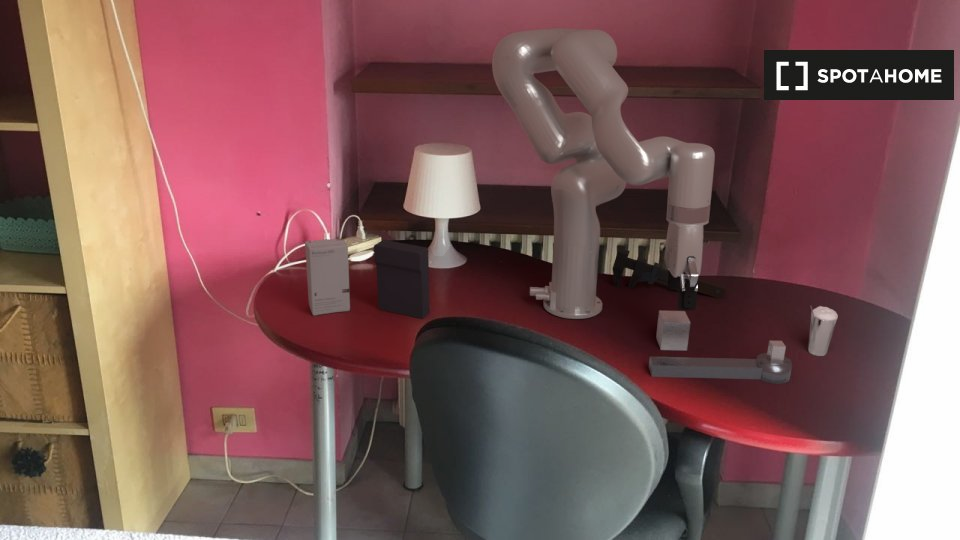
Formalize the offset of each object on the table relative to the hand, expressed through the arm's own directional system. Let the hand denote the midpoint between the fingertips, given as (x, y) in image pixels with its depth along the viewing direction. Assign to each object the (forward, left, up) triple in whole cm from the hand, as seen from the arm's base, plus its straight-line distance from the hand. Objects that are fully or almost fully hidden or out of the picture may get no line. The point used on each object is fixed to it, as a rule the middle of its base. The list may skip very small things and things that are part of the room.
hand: (680, 299), depth 144 cm
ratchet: (+6, -10, -10) cm, 16 cm away
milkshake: (+26, -1, -10) cm, 28 cm away
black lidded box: (-55, +13, -10) cm, 57 cm away
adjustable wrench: (+4, +27, -11) cm, 29 cm away
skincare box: (-71, +14, -10) cm, 73 cm away
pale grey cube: (-1, +1, -10) cm, 10 cm away
